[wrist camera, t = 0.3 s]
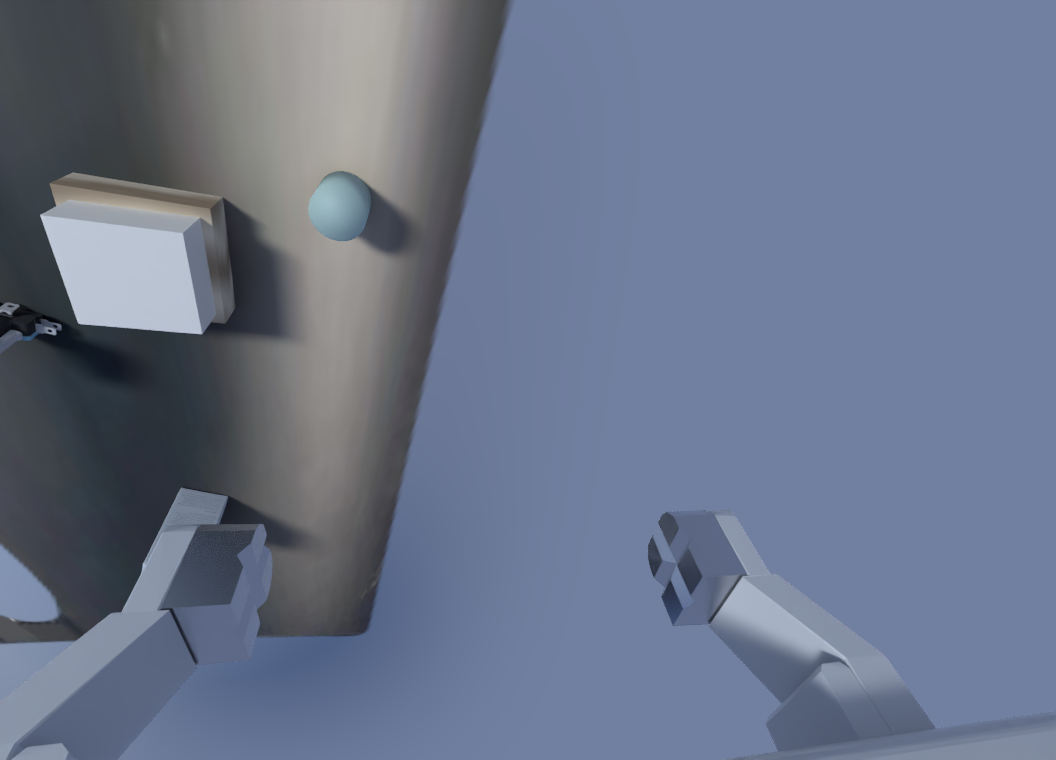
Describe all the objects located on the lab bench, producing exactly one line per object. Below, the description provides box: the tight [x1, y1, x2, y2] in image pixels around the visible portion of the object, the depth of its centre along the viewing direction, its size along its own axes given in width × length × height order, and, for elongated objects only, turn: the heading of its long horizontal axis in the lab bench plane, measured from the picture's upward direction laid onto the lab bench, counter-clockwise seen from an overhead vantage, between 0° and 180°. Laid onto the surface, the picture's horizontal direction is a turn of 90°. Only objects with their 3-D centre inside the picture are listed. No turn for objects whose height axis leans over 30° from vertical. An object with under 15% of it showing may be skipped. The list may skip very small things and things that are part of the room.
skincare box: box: [142, 488, 228, 571], centre depth 66 cm, size 6×4×12 cm
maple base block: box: [50, 173, 236, 324], centre depth 49 cm, size 12×12×4 cm
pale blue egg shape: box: [309, 171, 372, 241], centre depth 48 cm, size 5×5×5 cm
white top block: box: [40, 200, 216, 334], centre depth 45 cm, size 10×10×4 cm
